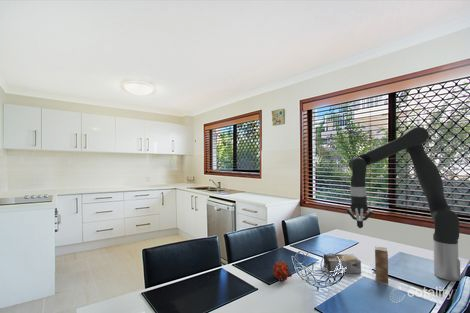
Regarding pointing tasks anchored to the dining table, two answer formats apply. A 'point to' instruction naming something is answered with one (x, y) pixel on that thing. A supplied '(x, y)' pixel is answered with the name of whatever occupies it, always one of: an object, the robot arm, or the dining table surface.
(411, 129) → the robot arm
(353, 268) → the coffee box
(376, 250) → the walnut pillar
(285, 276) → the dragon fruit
